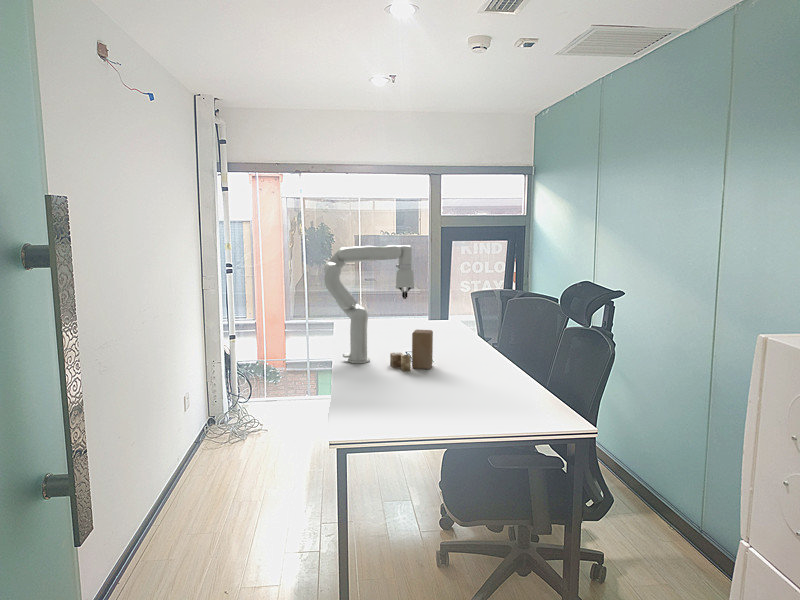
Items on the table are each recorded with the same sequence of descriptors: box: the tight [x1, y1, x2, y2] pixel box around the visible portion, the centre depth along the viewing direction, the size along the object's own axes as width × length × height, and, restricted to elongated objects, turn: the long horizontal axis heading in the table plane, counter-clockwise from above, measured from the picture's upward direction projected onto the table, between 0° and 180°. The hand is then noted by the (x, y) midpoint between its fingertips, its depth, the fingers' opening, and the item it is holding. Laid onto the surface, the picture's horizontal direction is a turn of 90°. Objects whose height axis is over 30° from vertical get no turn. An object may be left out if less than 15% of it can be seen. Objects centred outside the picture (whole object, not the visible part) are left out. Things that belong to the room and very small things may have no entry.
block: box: [411, 329, 434, 370], centre depth 307 cm, size 10×10×20 cm
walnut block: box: [389, 352, 404, 369], centre depth 309 cm, size 6×6×7 cm
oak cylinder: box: [400, 354, 412, 372], centre depth 301 cm, size 5×5×8 cm
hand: (404, 298), depth 323 cm, fingers closed
